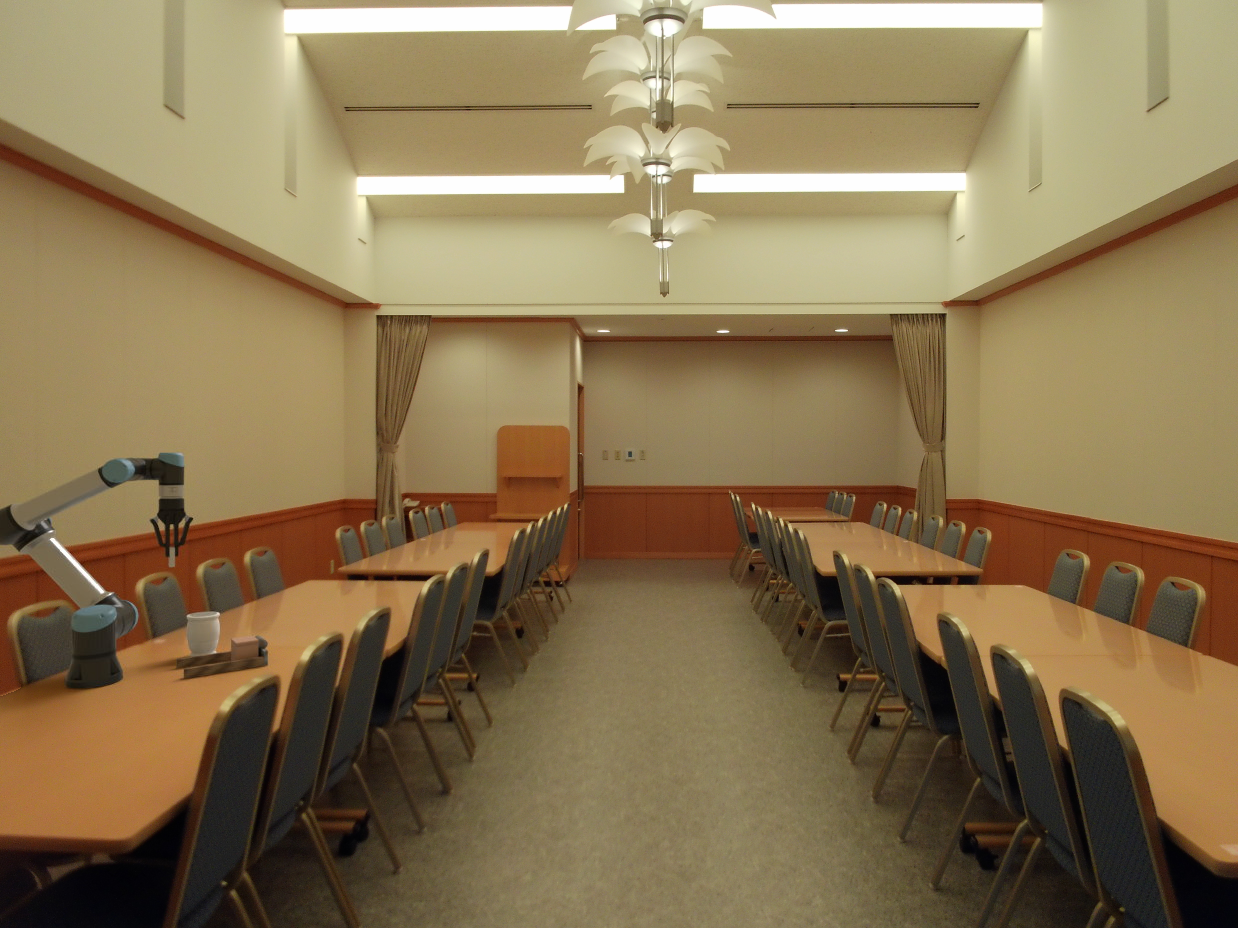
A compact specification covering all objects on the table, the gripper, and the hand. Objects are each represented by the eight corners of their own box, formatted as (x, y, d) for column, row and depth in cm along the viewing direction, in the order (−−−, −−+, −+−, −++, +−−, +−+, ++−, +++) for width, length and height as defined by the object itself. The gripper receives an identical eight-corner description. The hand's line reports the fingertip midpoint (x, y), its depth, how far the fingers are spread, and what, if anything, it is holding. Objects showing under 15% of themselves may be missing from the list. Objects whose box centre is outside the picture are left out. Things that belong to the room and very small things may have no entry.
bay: (184, 678, 241) (184, 654, 241) (176, 667, 253) (176, 644, 253) (270, 664, 257) (270, 641, 257) (259, 654, 269) (259, 632, 269)
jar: (226, 652, 273) (226, 611, 272) (207, 659, 262) (207, 617, 262) (199, 651, 274) (198, 610, 273) (179, 658, 263) (179, 616, 263)
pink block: (236, 666, 253) (236, 643, 253) (230, 661, 260) (230, 638, 260) (259, 662, 258) (259, 640, 258) (253, 657, 264) (253, 635, 264)
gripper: (150, 498, 246) (150, 569, 246) (195, 497, 254) (195, 566, 255) (147, 497, 252) (147, 566, 252) (191, 496, 260) (191, 563, 260)
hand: (171, 566), depth 253 cm, fingers closed
